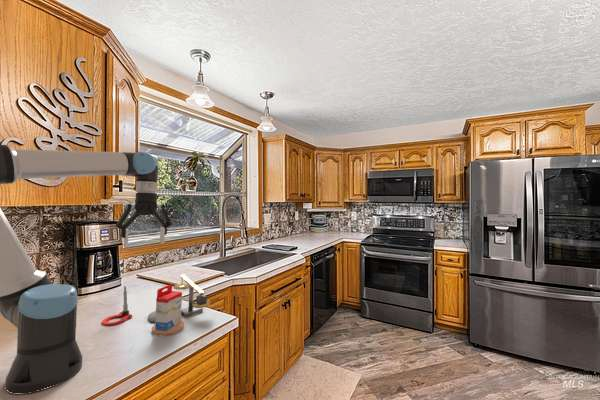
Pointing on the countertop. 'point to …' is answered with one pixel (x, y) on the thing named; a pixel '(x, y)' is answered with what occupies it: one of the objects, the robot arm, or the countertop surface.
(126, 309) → the tow hook
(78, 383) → the countertop surface
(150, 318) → the dish high
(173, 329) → the dish low
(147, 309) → the countertop surface
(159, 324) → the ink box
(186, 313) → the balance
